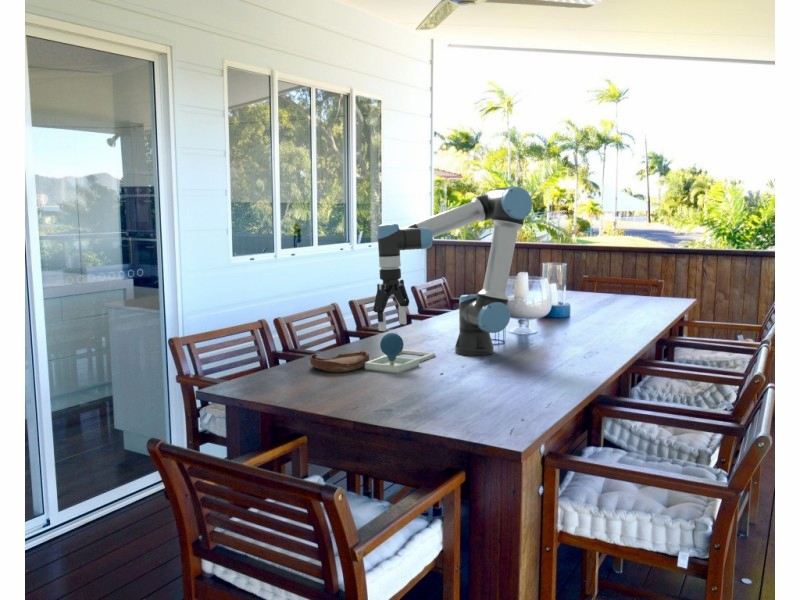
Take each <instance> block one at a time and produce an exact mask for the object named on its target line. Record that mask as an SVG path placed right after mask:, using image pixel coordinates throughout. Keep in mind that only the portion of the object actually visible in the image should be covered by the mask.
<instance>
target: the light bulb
mask: <svg viewBox="0 0 800 600" xmlns="http://www.w3.org/2000/svg"><path fill="white" fill-rule="evenodd" d="M379 345H380V346H379V348H380V350H381V352H382V353H383V355H387V356H388V359H389V360H390V361H389V365H394V364H395V361H394V360H395V359H396V356H397V357H398V355H401V354H402V353H401V351H402V350H404V341H403V339H402V337H401V336H400V335H399V334H398V333H396V332H388V333H386V334H385V335H383V336H382V337H381V340H380V342H379ZM400 353H401V354H400Z"/></svg>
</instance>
